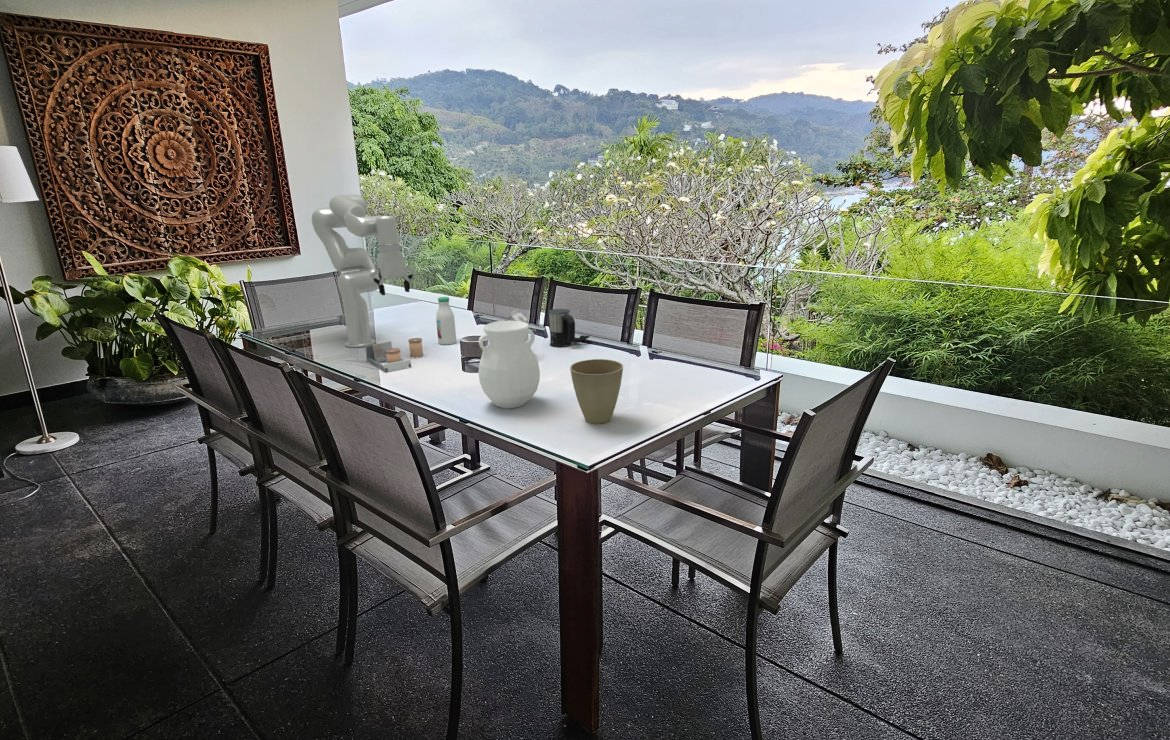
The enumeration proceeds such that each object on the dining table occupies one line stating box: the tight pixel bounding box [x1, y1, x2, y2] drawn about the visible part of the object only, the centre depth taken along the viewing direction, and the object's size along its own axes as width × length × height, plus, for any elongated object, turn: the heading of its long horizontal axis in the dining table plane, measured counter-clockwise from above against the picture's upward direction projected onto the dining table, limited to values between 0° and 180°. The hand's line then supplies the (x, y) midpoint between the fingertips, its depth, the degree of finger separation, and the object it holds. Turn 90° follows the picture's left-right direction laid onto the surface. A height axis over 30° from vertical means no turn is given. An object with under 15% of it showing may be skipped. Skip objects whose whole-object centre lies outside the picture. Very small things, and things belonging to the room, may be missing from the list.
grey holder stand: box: [365, 345, 412, 373], centre depth 236 cm, size 20×10×6 cm, turn 37°
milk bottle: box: [436, 296, 457, 346], centre depth 265 cm, size 8×8×20 cm
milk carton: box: [504, 308, 530, 342], centre depth 239 cm, size 7×7×19 cm
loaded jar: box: [385, 347, 401, 364], centre depth 232 cm, size 5×5×7 cm
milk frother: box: [547, 308, 590, 348], centre depth 260 cm, size 14×16×15 cm
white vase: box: [478, 320, 541, 409], centre depth 188 cm, size 19×18×25 cm
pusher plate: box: [373, 340, 393, 363], centre depth 243 cm, size 8×7×7 cm
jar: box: [407, 337, 424, 358], centre depth 247 cm, size 5×5×7 cm
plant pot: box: [569, 358, 624, 425], centre depth 174 cm, size 15×15×16 cm
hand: (395, 293), depth 241 cm, fingers open, 9 cm apart
